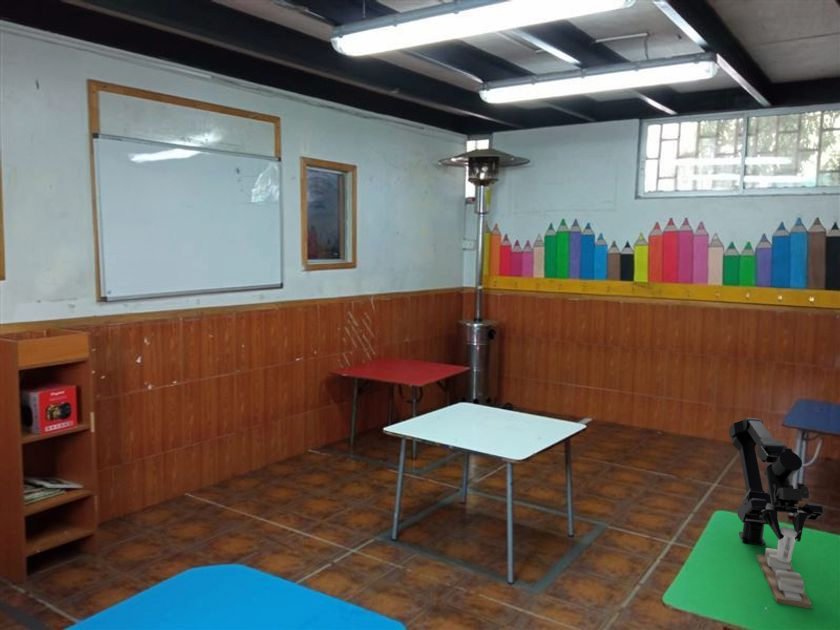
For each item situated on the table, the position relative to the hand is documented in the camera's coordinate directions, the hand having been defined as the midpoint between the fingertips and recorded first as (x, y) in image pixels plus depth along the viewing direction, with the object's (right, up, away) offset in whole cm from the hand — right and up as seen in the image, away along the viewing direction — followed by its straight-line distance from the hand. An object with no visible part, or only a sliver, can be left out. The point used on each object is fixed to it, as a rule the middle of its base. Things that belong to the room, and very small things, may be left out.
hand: (789, 540), depth 181 cm
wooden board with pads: (0, -12, +3) cm, 13 cm away
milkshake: (0, -6, +2) cm, 7 cm away
